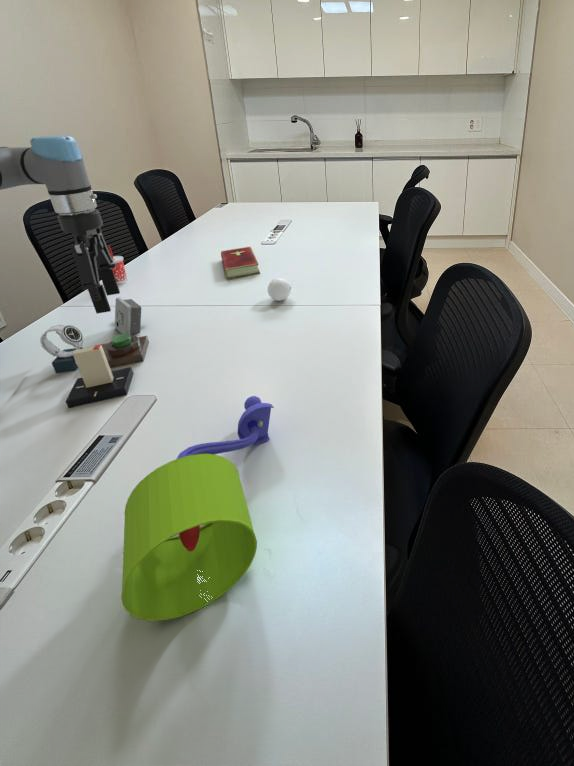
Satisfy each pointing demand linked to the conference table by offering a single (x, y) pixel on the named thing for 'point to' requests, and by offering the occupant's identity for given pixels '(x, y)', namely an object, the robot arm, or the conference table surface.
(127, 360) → the switch block
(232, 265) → the hardcover book
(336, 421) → the conference table surface
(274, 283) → the white ovoid piece
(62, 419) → the conference table surface
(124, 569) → the wall lamp
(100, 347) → the cream rectangular block
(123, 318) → the electrical switch
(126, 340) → the button
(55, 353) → the watch
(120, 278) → the beverage cup
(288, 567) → the conference table surface
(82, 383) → the dimmer panel
